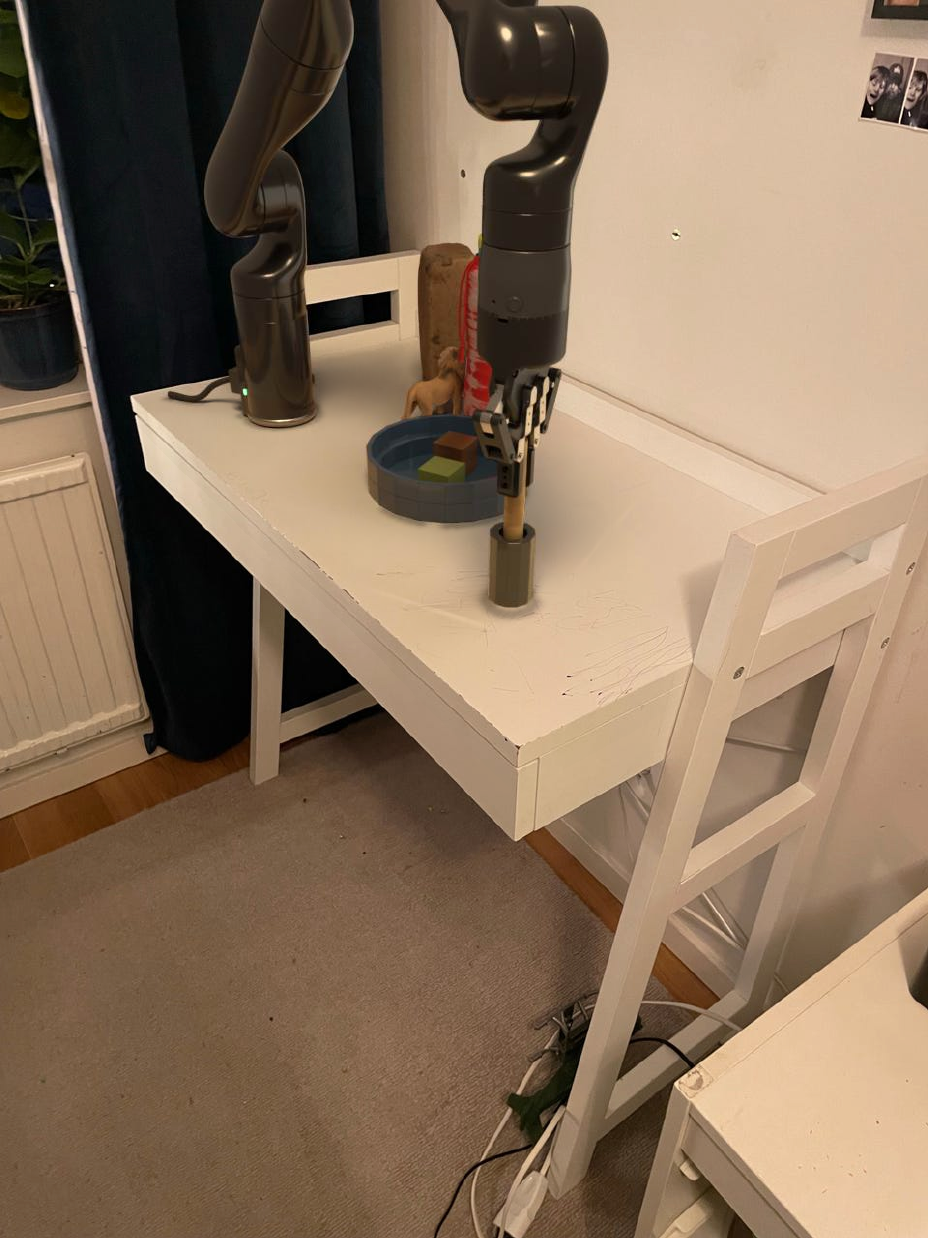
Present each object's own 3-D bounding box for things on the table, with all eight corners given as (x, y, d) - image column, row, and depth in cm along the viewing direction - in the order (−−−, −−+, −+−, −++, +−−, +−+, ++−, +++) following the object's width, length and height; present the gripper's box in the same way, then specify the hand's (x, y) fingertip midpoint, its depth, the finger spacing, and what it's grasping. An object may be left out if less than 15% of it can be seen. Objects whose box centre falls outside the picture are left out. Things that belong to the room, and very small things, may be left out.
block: (479, 399, 135) (482, 256, 124) (428, 403, 134) (426, 258, 122) (463, 372, 144) (464, 236, 132) (415, 376, 143) (412, 238, 131)
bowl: (337, 503, 109) (334, 460, 106) (420, 442, 123) (419, 403, 120) (482, 544, 102) (483, 500, 99) (553, 475, 116) (556, 434, 113)
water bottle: (535, 410, 132) (546, 223, 118) (550, 433, 126) (564, 238, 112) (452, 416, 130) (452, 226, 116) (463, 440, 124) (465, 242, 110)
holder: (480, 606, 93) (482, 536, 88) (500, 585, 96) (502, 516, 91) (519, 618, 91) (523, 547, 86) (538, 596, 94) (542, 527, 89)
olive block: (418, 500, 109) (417, 468, 106) (435, 486, 112) (435, 455, 109) (448, 508, 107) (448, 476, 105) (464, 493, 110) (465, 462, 108)
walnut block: (433, 472, 114) (433, 442, 112) (449, 460, 117) (449, 430, 115) (462, 479, 113) (462, 449, 111) (477, 467, 116) (477, 437, 113)
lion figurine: (442, 401, 134) (442, 339, 129) (476, 408, 132) (477, 346, 127) (390, 440, 123) (388, 374, 118) (426, 448, 121) (425, 381, 116)
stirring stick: (497, 599, 93) (502, 440, 83) (505, 589, 94) (512, 432, 84) (514, 604, 92) (522, 445, 82) (522, 595, 93) (531, 437, 83)
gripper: (518, 271, 82) (510, 452, 92) (441, 314, 72) (442, 511, 82) (598, 284, 79) (581, 469, 90) (529, 330, 70) (519, 532, 80)
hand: (514, 488), depth 86 cm, fingers closed on stirring stick, 2 cm apart
